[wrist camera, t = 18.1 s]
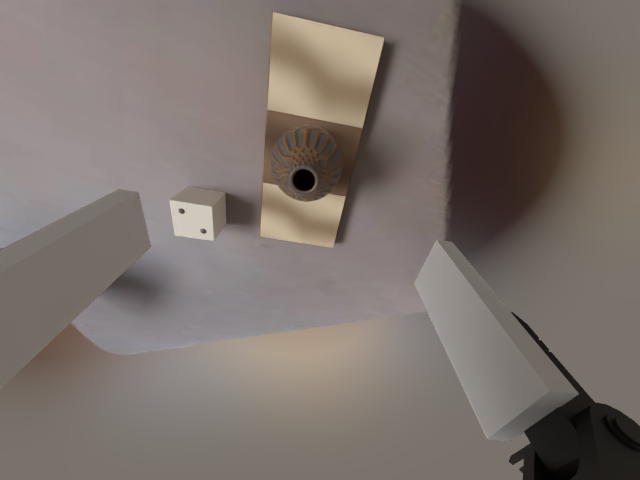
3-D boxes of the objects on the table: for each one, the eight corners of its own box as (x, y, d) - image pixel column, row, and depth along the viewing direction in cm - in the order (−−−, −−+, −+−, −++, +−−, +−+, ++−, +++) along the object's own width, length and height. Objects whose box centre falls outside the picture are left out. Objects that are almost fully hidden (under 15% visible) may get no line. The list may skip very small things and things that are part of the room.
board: (274, 15, 22) (271, 10, 21) (382, 40, 23) (385, 37, 22) (261, 231, 34) (259, 236, 32) (333, 242, 34) (333, 248, 33)
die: (188, 186, 30) (168, 200, 26) (225, 192, 31) (211, 207, 27) (192, 218, 33) (174, 236, 29) (226, 223, 33) (213, 241, 29)
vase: (280, 186, 29) (265, 220, 21) (273, 121, 25) (253, 134, 18) (339, 185, 29) (345, 219, 21) (341, 120, 25) (349, 132, 17)
